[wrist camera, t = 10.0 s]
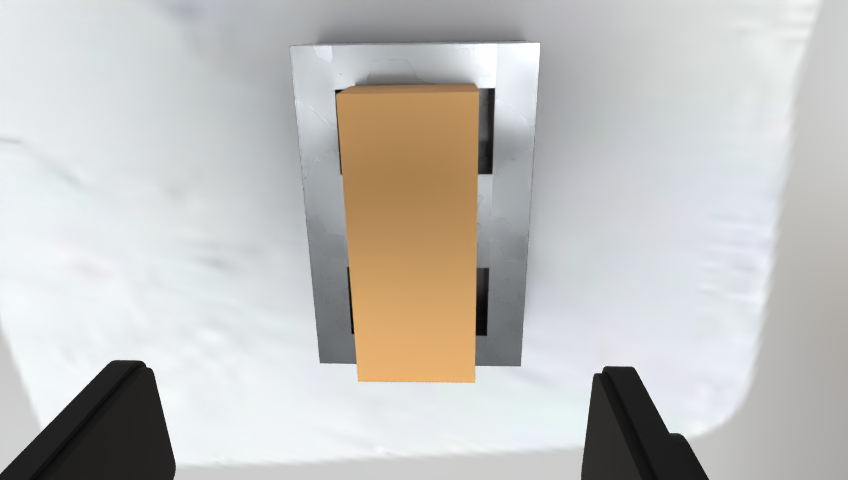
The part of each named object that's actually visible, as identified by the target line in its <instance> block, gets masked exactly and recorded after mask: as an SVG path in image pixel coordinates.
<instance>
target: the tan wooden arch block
mask: <svg viewBox="0 0 848 480" xmlns="http://www.w3.org/2000/svg"><path fill="white" fill-rule="evenodd" d="M336 102H337V115H338V127H339V140H340V153H341V166H342V179H343V192H344V205H345V218H346V231H347V244H348V257H349V269H350V282H351V295H352V308H353V321H354V334H355V347H356V360H357V373H358V381H363V382H466V383H475V336H476V266H477V197H478V127H479V91H478V89H477V86H476V84H437V85H381V86H350V87H348V88H346V89H345V90H343V91H341V92H339V93H338V94H336Z"/></svg>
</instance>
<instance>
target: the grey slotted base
mask: <svg viewBox="0 0 848 480" xmlns="http://www.w3.org/2000/svg"><path fill="white" fill-rule="evenodd" d="M290 55H291V65H292V76H293V86H294V97H295V107H296V117H297V128H298V138H299V149H300V159H301V170H302V180H303V191H304V201H305V212H306V222H307V233H308V243H309V254H310V264H311V275H312V285H313V295H314V306H315V316H316V327H317V337H318V348H319V358H320V363H340V364H357V360H356V347H355V334H354V321H353V308H352V295H351V282H350V269H349V257H348V244H347V231H346V218H345V205H344V192H343V179H342V166H341V153H340V140H339V127H338V115H337V102H336V94H338V93H339V92H341V91H343V90H345V89H346V88H348V87H350V86H381V85H437V84H476V86H477V89H478V91H479V127H478V197H477V266H476V336H475V366H521V353H522V336H523V320H524V303H525V287H526V270H527V254H528V237H529V221H530V204H531V188H532V171H533V155H534V138H535V122H536V105H537V89H538V72H539V56H540V43H537V42H530V41H465V42H383V43H314V44H305V45H295V46H290Z"/></svg>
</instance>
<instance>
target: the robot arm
mask: <svg viewBox="0 0 848 480" xmlns="http://www.w3.org/2000/svg"><path fill="white" fill-rule="evenodd" d="M175 470H176V465H175V459H174V455H173V451H172V447H171V443H170V439H169V434H168V430H167V426H166V422H165V418H164V414H163V409H162V405H161V401H160V397H159V393H158V389H157V384H156V380H155V376H154V373H153V370H152V369H151V368H147V367H146V365H145V363H144V362H143V361H136V360H115V361H111V362H110V363H109V364H108V365H107V366H106V367H105V368H104V369H103V370H102V371H101V372H100V373H99V374H98V375H97V376H96V377H95V378H94V379H93V380H92V381H91V382H90V383H89V384H88V385H87V386H86V387H85V388H84V389H83V390H82V391H81V392H80V393H79V394H78V395H77V396H76V397H75V398H74V399H73V400H72V401H71V402H70V403H69V404H68V405H67V406H66V407H65V408H64V409H63V411H62V412H61V413H60V414H59V415H58V416H57V417H56V418H55V419H54V420H53V421H52V422H51V423H50V424H49V425H48V426H47V427H46V428H45V429H44V430H43V431H42V432H41V433H40V434H39V435H38V436H37V437H36V438H35V439H34V440H33V441H32V442H31V443H30V444H29V445H28V446H27V447H26V448H25V449H24V451H22V452H21V453H20V454H19V455H18V456H17V457H16V458H15V459H14V460H13V461H12V463H11V464H10V465H9V466H8V467H7V468H6V469H5V470H4V471H3V472H2V473H1V474H0V480H173V479H174V476H175ZM581 480H709V479H708V477H707V475H706V473H705V472H704V470H703V468H702V466H701V465H700V463H699V461H698V459H697V457H696V456H695V454H694V452H693V450H692V449H691V447H690V445H689V443H688V442H687V440H686V439H685V438H684V436H682V435H681V434H679V433H669V431H668V430H667V428H666V426H665V424H664V422H663V420H662V418H661V416H660V415H659V413H658V411H657V409H656V407H655V405H654V403H653V401H652V400H651V398H650V396H649V394H648V392H647V390H646V388H645V386H644V385H643V383H642V381H641V379H640V377H639V375H638V373H637V371H636V370H635V369H634V367H616V366H605V367H604V368H603V371H602V373H596V374H594V377H593V383H592V391H591V399H590V407H589V415H588V423H587V431H586V439H585V447H584V455H583V463H582V472H581Z"/></svg>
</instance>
